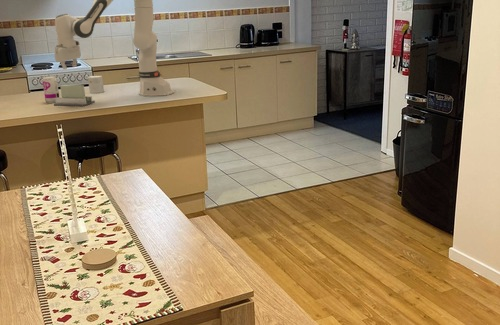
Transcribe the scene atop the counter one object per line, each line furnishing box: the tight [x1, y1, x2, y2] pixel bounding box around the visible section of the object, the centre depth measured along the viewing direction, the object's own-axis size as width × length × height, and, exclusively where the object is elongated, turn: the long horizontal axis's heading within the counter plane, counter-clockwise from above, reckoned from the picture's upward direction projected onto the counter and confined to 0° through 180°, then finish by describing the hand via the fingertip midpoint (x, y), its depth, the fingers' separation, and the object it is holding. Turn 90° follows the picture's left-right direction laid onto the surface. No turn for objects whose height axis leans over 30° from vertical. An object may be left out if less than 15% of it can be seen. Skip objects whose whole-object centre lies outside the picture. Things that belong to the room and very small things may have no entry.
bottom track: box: [53, 95, 96, 107], centre depth 318 cm, size 20×12×4 cm, turn 73°
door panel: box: [59, 84, 86, 98], centre depth 316 cm, size 14×3×10 cm, turn 73°
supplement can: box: [42, 76, 60, 104], centre depth 325 cm, size 8×8×15 cm
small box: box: [87, 75, 105, 94], centre depth 353 cm, size 8×6×10 cm
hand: (69, 67), depth 312 cm, fingers open, 8 cm apart
